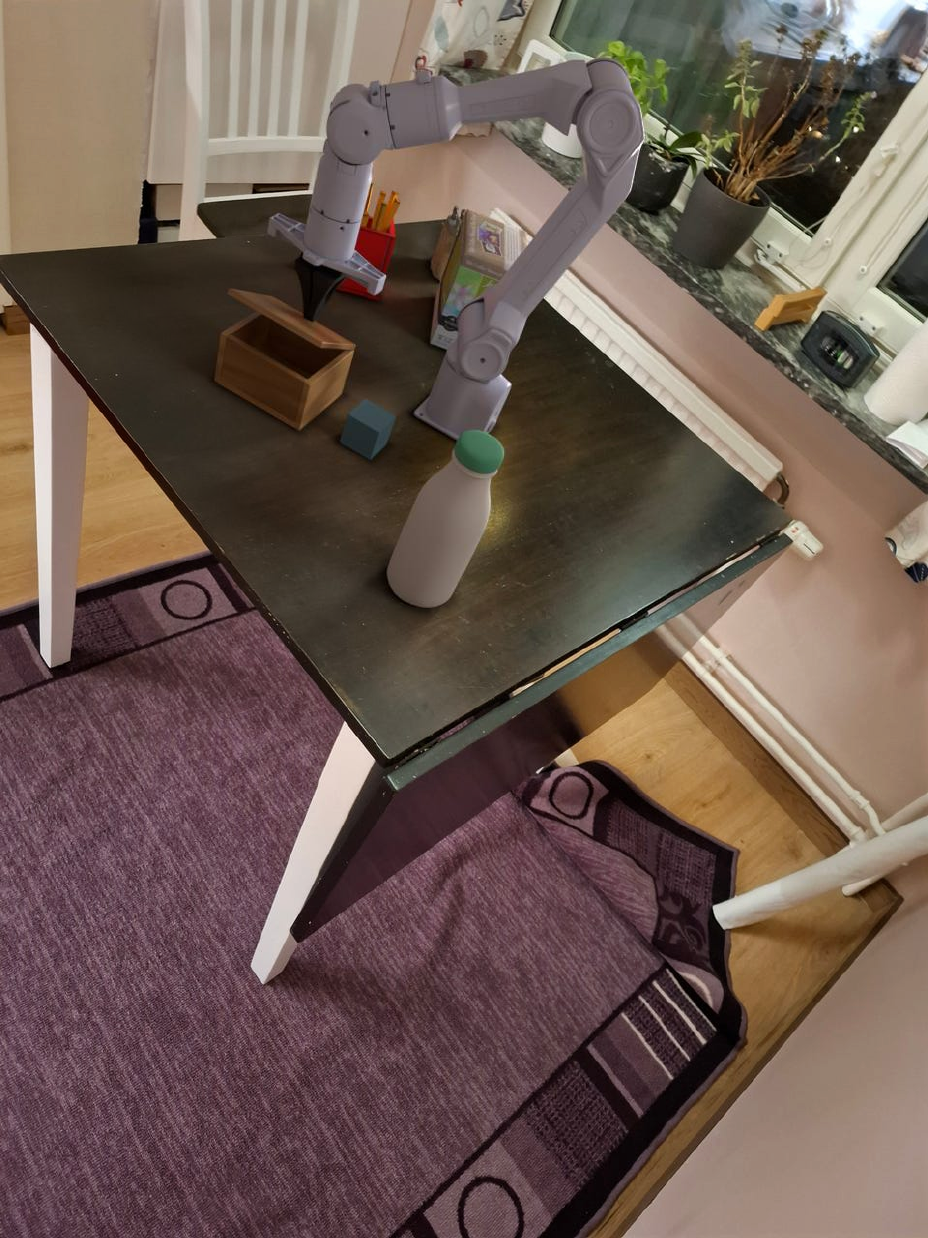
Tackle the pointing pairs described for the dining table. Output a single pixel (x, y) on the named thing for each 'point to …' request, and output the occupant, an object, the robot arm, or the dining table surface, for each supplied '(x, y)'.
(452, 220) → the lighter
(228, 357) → the box
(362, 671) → the dining table surface
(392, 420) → the block
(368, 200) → the french fries container
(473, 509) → the milk bottle
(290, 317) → the box lid
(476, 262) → the tea box
